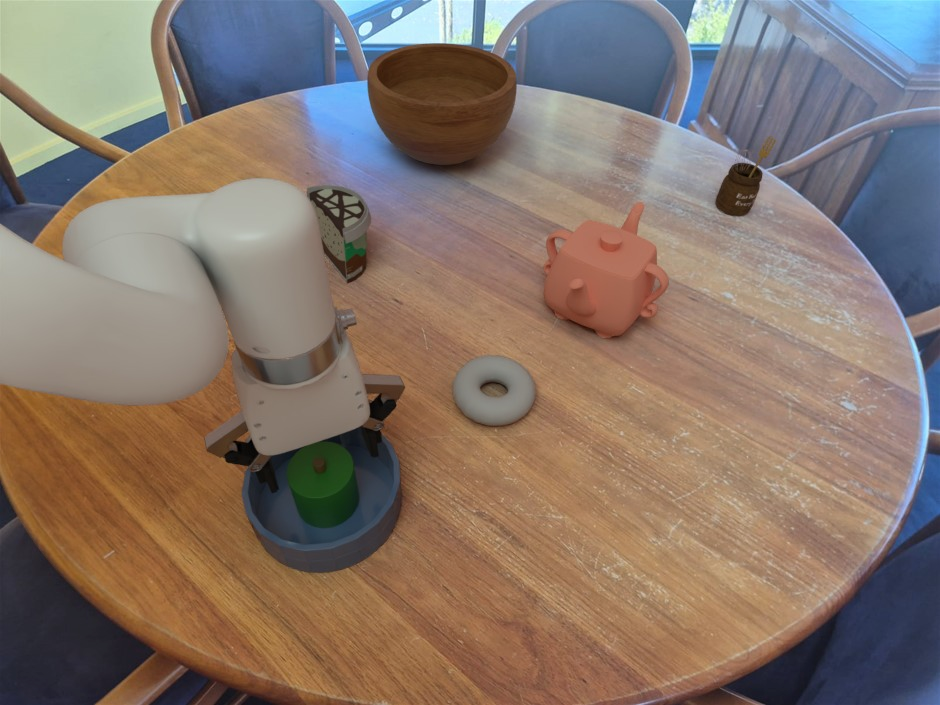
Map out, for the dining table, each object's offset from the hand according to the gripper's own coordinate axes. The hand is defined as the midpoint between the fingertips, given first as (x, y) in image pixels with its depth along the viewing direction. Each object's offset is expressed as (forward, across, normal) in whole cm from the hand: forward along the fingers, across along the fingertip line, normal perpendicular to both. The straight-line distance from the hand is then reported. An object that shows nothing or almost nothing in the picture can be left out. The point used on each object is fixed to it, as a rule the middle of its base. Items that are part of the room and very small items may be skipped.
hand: (322, 462), depth 60 cm
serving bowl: (+7, 0, 0) cm, 7 cm away
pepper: (+7, 0, 0) cm, 7 cm away
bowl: (+8, -38, -61) cm, 72 cm away
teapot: (+8, -42, -15) cm, 45 cm away
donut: (+8, -22, -6) cm, 24 cm away
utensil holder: (+9, -78, -28) cm, 83 cm away
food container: (+8, -14, -38) cm, 41 cm away
